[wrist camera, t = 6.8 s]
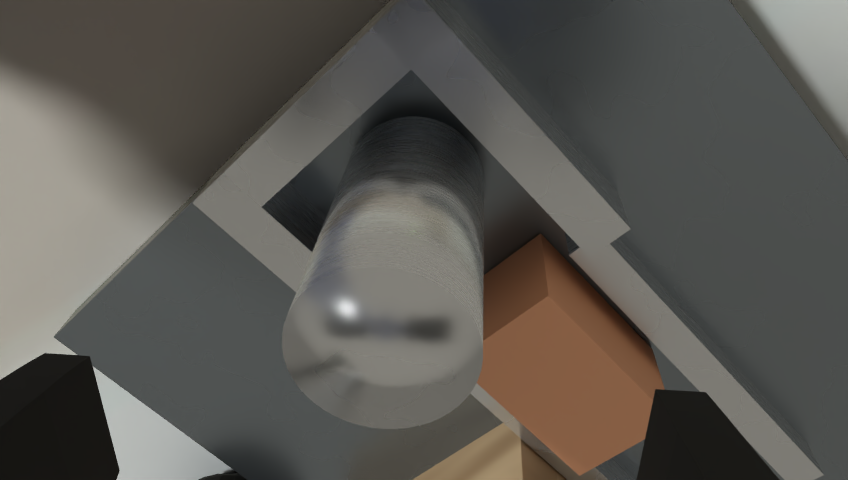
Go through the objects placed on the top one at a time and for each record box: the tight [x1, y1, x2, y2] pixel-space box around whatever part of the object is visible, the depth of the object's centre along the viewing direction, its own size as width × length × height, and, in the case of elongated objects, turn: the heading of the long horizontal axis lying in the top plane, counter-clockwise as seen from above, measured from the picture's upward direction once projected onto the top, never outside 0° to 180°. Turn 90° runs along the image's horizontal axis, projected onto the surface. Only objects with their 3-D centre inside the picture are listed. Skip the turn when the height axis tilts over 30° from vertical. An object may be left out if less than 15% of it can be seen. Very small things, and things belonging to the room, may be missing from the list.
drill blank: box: [282, 116, 484, 429], centre depth 14 cm, size 3×3×6 cm
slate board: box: [54, 0, 848, 480], centre depth 19 cm, size 22×17×3 cm
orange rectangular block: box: [477, 234, 665, 476], centre depth 17 cm, size 4×2×2 cm, turn 44°
